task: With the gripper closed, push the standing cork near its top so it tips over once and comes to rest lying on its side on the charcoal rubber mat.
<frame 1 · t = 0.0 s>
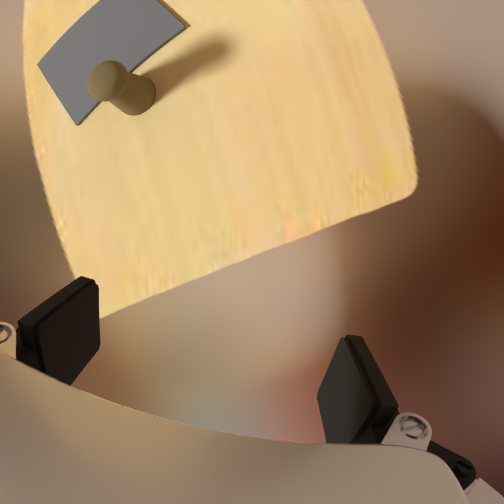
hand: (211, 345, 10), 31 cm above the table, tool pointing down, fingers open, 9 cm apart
mat: (101, 44, 33), on the table
cork: (137, 96, 36), on the table
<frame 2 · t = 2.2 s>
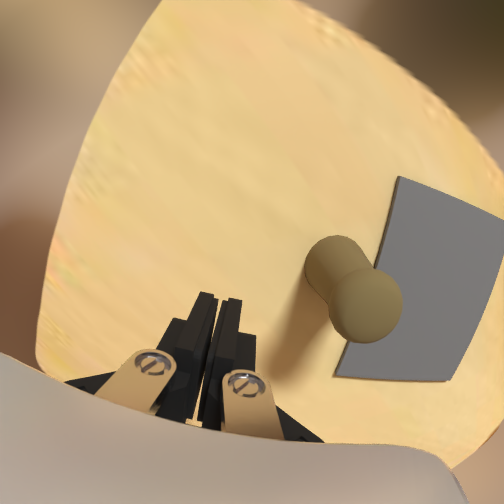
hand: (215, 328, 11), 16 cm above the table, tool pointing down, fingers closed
mat: (435, 297, 28), on the table
cork: (334, 265, 28), on the table
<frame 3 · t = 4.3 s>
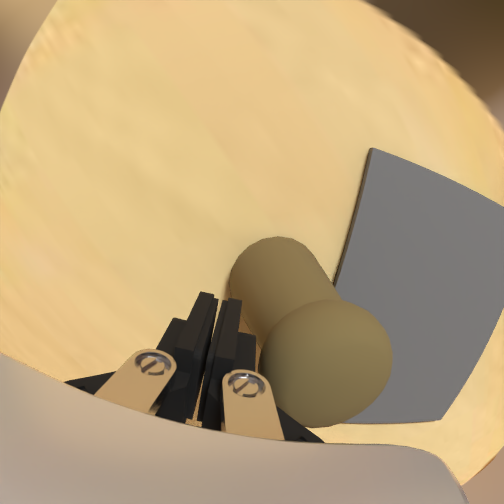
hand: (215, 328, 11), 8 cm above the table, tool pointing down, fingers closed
mat: (425, 321, 20), on the table
cork: (275, 281, 19), on the table
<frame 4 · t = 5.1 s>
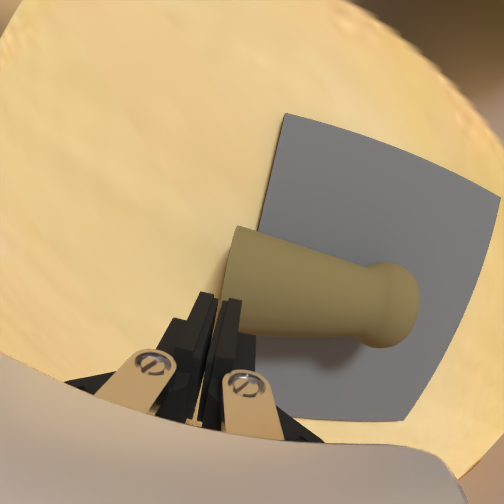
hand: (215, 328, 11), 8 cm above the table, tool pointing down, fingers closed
mat: (369, 307, 20), on the table
cork: (224, 279, 16), point 3 cm above the table, touching mat
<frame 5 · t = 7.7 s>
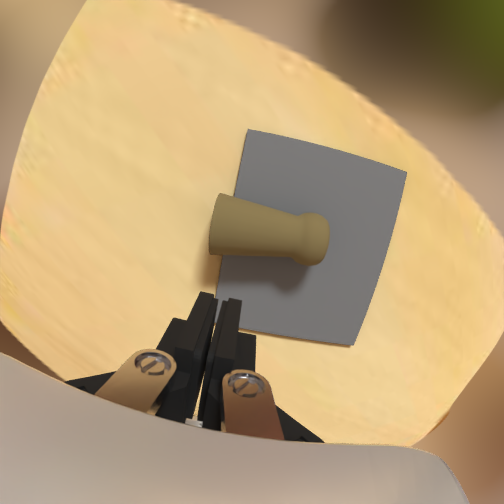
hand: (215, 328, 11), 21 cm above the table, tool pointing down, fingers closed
mat: (309, 247, 32), on the table
cork: (213, 223, 29), point 3 cm above the table, touching mat
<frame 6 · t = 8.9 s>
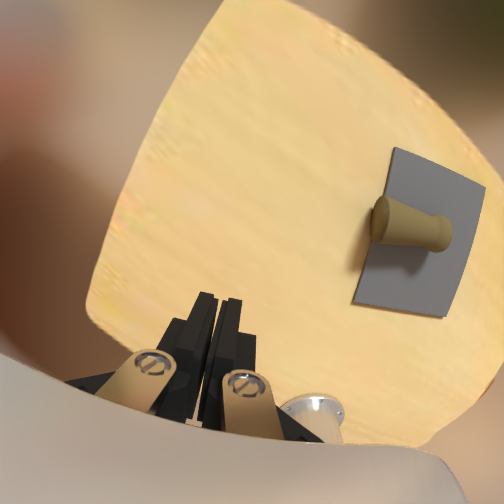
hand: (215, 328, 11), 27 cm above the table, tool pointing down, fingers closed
mat: (427, 240, 38), on the table
cork: (377, 218, 34), point 3 cm above the table, touching mat
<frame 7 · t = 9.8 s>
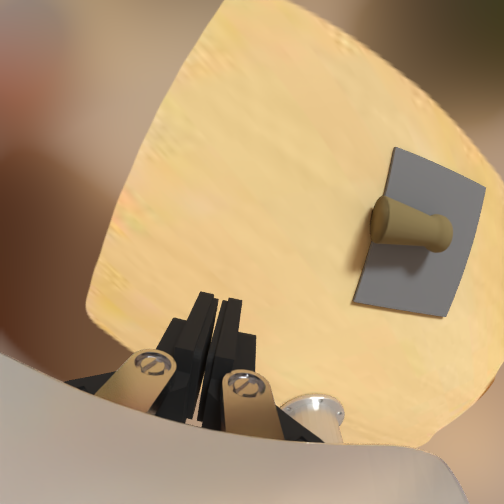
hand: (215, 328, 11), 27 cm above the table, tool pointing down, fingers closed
mat: (427, 240, 38), on the table
cork: (377, 218, 34), point 3 cm above the table, touching mat
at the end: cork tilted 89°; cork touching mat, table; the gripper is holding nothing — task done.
